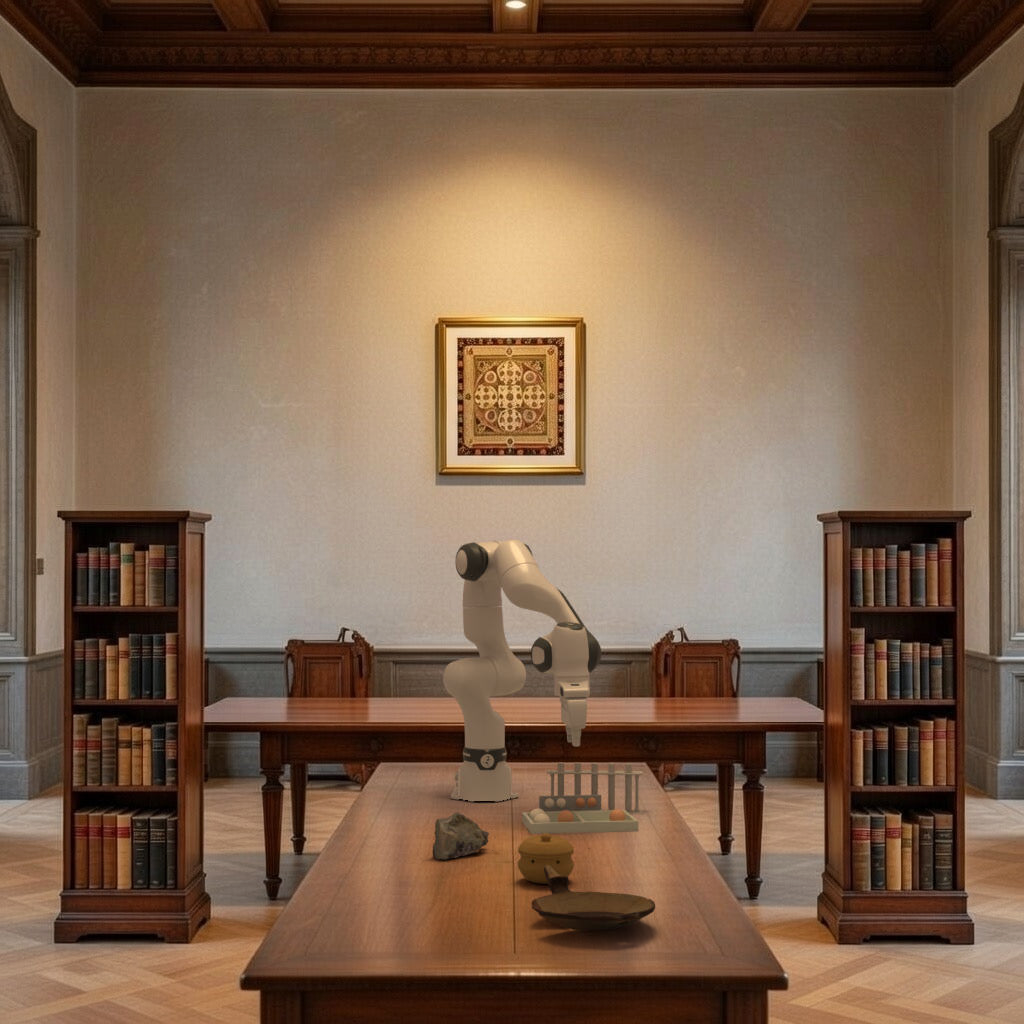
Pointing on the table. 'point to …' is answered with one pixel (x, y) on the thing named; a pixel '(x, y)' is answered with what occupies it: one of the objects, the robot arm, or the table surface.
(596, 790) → the test tube rack
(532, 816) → the ivory ball
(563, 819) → the terracotta ball
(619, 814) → the terracotta ball
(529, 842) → the pot
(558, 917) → the frying pan
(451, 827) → the mineral rock
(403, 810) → the table surface
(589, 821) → the twin dish
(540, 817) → the ivory ball
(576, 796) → the card
